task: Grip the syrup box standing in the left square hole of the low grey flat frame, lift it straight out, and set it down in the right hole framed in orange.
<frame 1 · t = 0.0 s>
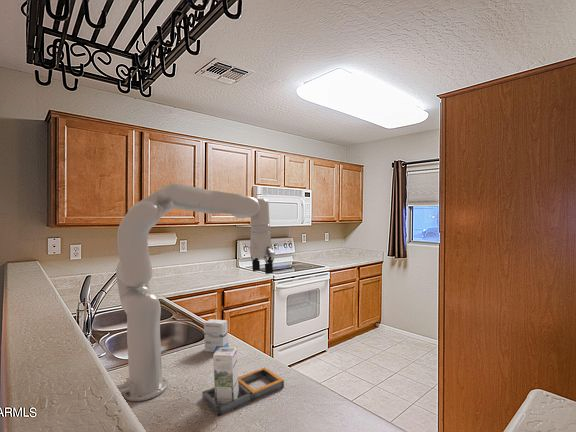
hand: (262, 272, 127), 31 cm above the countertop, tool pointing down, fingers open, 9 cm apart
syrup box: (227, 400, 93), resting in grey flat frame
ink box: (216, 350, 129), on the countertop
grey flat frame: (244, 392, 96), on the countertop
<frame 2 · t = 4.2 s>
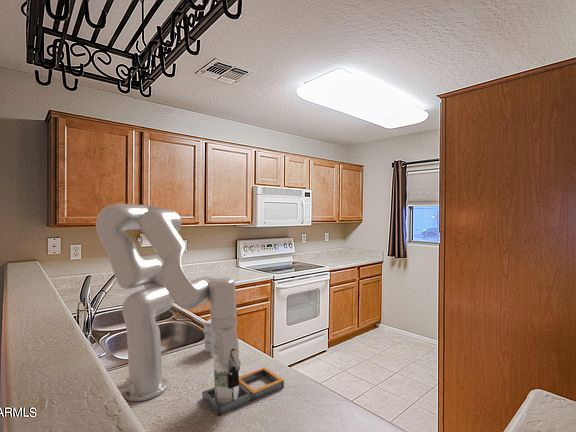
hand: (226, 380, 93), 6 cm above the countertop, tool pointing down, fingers closed on syrup box, 8 cm apart
syrup box: (227, 400, 93), resting in grey flat frame, touching gripper
everything else where it was.
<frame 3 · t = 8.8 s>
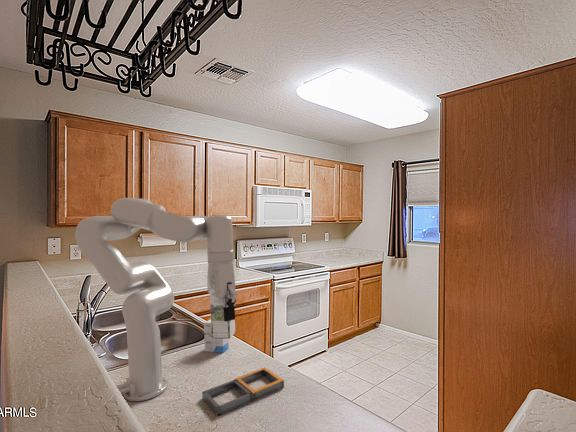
hand: (223, 316, 93), 24 cm above the countertop, tool pointing down, fingers closed on syrup box, 8 cm apart
syrup box: (223, 336, 93), point 19 cm above the countertop, touching gripper
everything else where it was.
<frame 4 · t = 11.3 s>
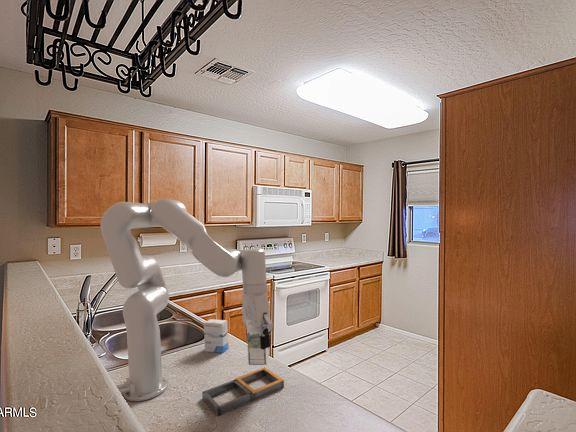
hand: (258, 343, 100), 13 cm above the countertop, tool pointing down, fingers closed on syrup box, 8 cm apart
syrup box: (259, 362, 100), point 8 cm above the countertop, touching gripper
everything else where it was.
when the fingers open (7 cm above the countertop, at t = 13.2 s): syrup box drops 1 cm, resting in grey flat frame.
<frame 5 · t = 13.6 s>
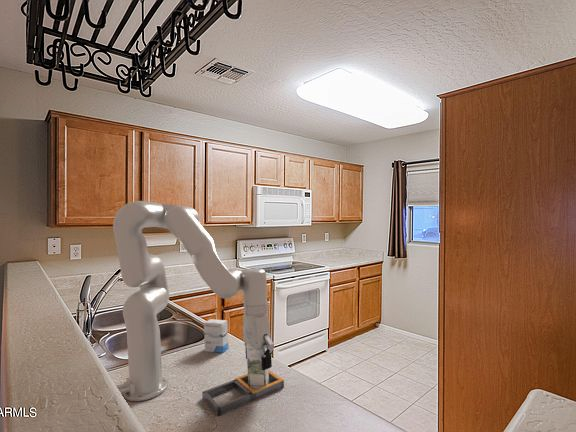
hand: (258, 363, 100), 7 cm above the countertop, tool pointing down, fingers open, 9 cm apart
syrup box: (259, 387, 99), resting in grey flat frame
everything else where it was.
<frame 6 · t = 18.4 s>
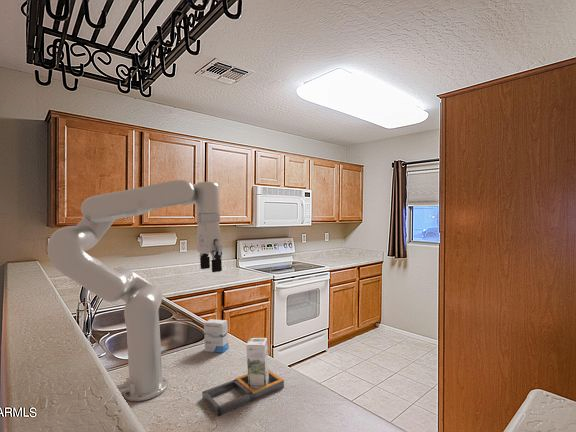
hand: (210, 270, 106), 36 cm above the countertop, tool pointing down, fingers open, 9 cm apart
nothing on the countertop moved.
at the end: syrup box 0.2 cm from the target spot on the grey flat frame, point 0.0 cm above the grey flat frame's base; syrup box tilted 0°; the gripper is holding nothing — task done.
